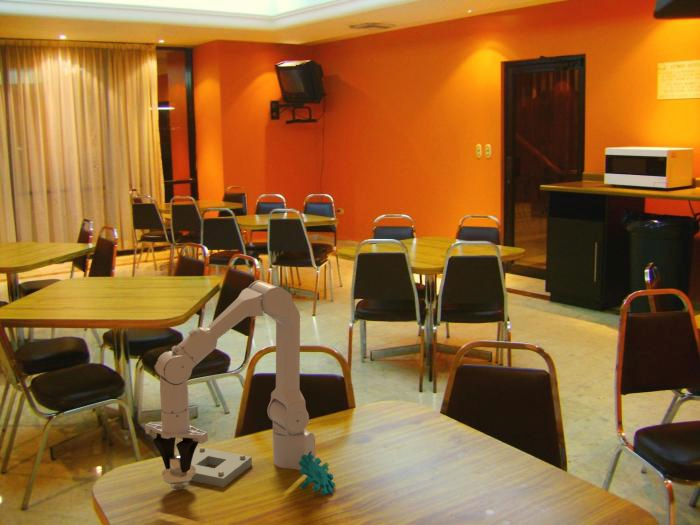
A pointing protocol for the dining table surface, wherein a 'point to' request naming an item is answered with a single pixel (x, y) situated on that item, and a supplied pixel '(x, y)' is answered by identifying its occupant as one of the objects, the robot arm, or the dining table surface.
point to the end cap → (177, 473)
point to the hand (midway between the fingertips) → (177, 469)
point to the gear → (316, 474)
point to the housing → (218, 466)
